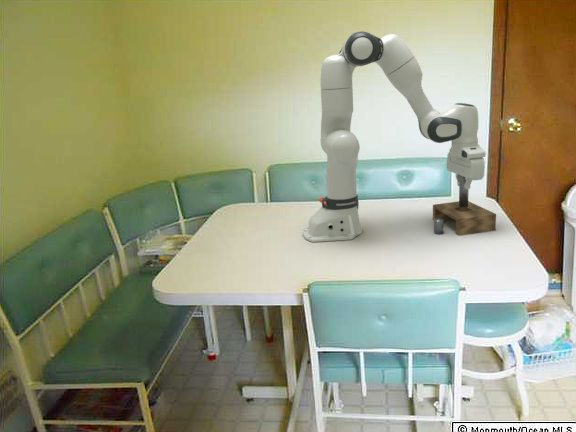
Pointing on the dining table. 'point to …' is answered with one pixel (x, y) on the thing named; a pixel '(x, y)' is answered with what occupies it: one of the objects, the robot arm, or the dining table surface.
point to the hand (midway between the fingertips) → (463, 187)
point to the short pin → (438, 226)
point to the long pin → (463, 192)
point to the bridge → (466, 217)
